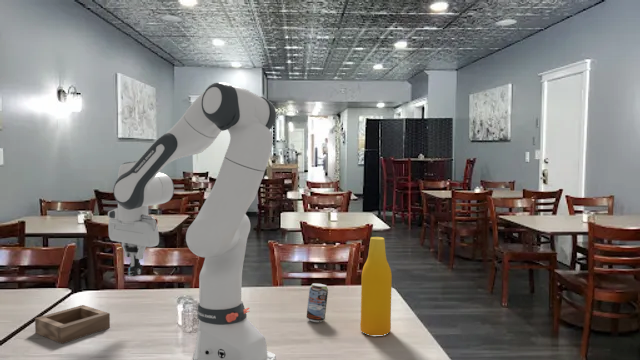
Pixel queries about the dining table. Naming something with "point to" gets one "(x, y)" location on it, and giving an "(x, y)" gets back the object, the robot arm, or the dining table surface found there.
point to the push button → (133, 261)
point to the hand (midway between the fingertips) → (133, 257)
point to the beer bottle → (376, 290)
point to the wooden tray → (72, 323)
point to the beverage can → (317, 302)
